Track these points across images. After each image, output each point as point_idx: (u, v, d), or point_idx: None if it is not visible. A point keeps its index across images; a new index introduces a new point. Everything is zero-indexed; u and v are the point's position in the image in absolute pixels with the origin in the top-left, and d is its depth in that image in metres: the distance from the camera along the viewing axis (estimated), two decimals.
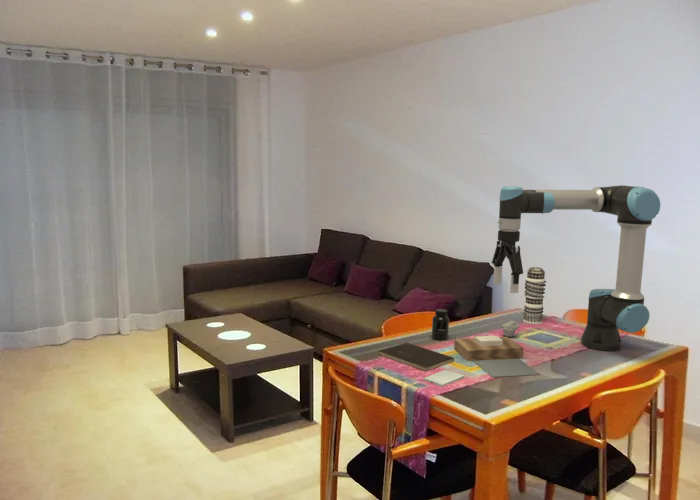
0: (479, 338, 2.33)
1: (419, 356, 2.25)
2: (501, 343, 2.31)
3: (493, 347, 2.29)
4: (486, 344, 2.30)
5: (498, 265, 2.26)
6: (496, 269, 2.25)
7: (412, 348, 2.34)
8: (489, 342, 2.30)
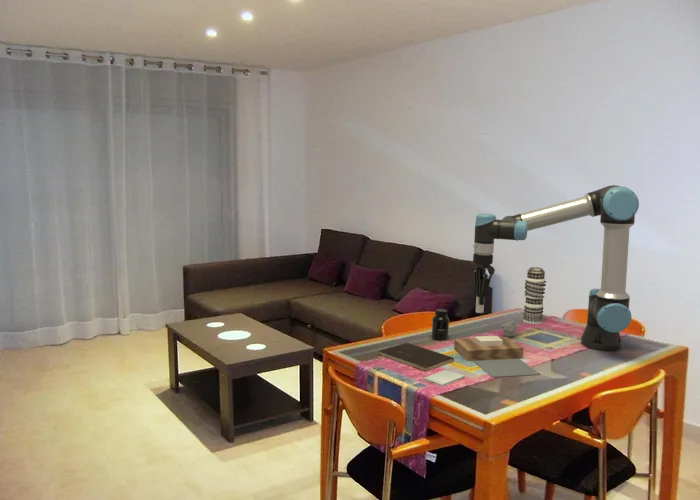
0: (479, 338, 2.33)
1: (419, 356, 2.25)
2: (501, 343, 2.31)
3: (493, 347, 2.29)
4: (486, 344, 2.30)
5: None
6: None
7: (412, 348, 2.34)
8: (489, 342, 2.30)
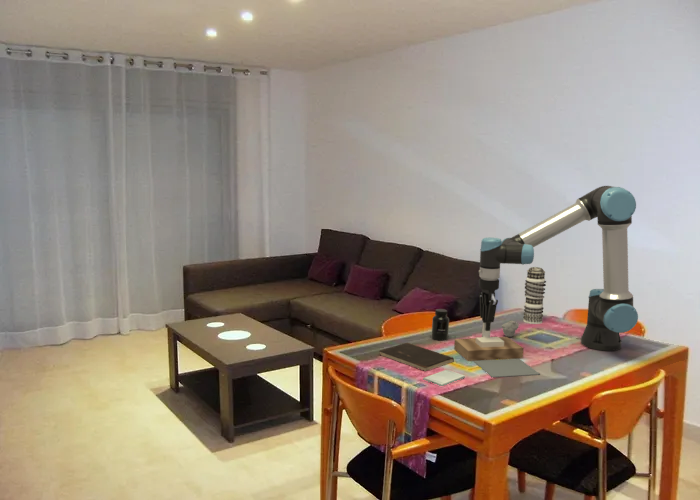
0: (480, 339, 2.32)
1: (419, 356, 2.25)
2: (502, 344, 2.30)
3: (493, 347, 2.29)
4: (487, 345, 2.29)
5: None
6: None
7: (412, 348, 2.34)
8: (490, 343, 2.29)
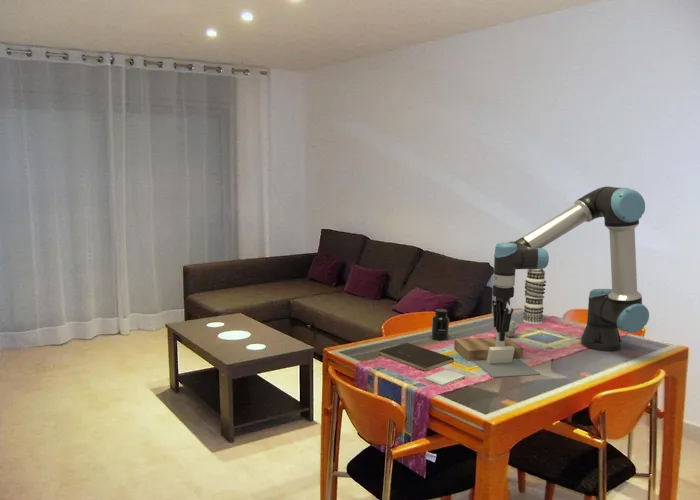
0: (492, 356, 2.21)
1: (419, 356, 2.25)
2: None
3: None
4: None
5: None
6: None
7: (412, 348, 2.34)
8: None
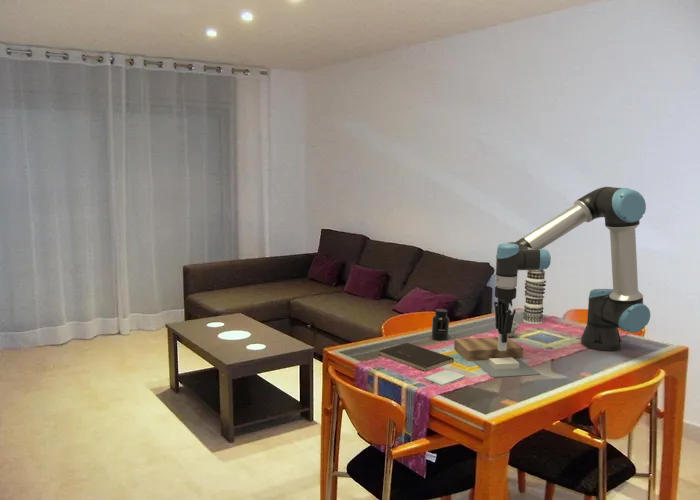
0: None
1: (419, 356, 2.25)
2: None
3: (493, 347, 2.29)
4: None
5: None
6: None
7: (412, 348, 2.34)
8: None
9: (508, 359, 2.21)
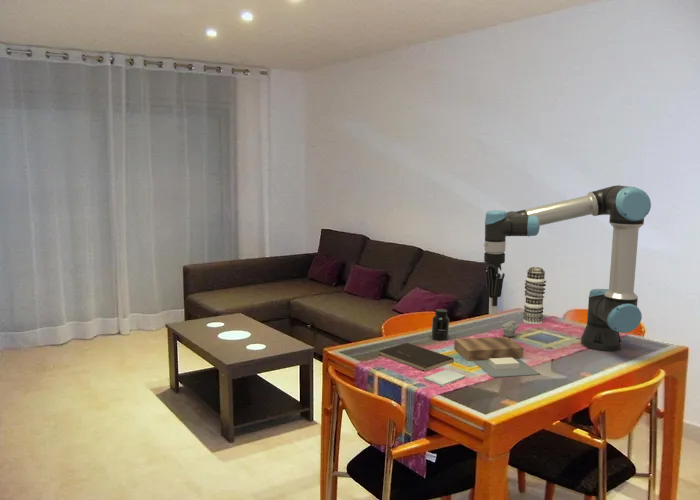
0: None
1: (419, 356, 2.25)
2: None
3: (493, 347, 2.29)
4: None
5: None
6: None
7: (412, 348, 2.34)
8: None
9: (508, 359, 2.21)
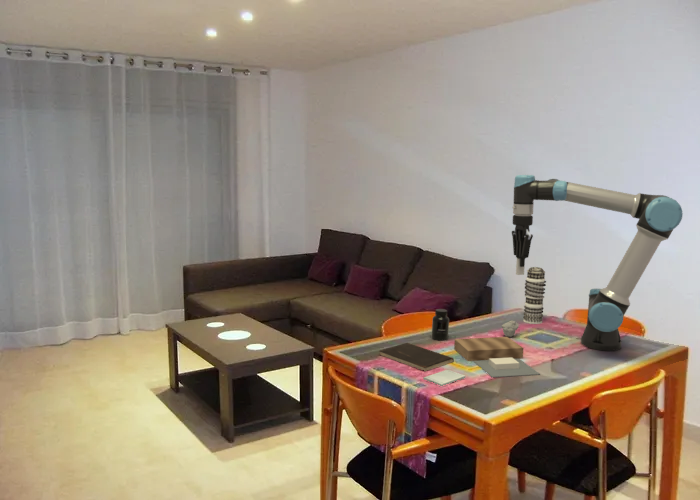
0: None
1: (419, 356, 2.24)
2: None
3: (493, 347, 2.29)
4: None
5: None
6: None
7: (412, 348, 2.34)
8: None
9: (508, 359, 2.21)
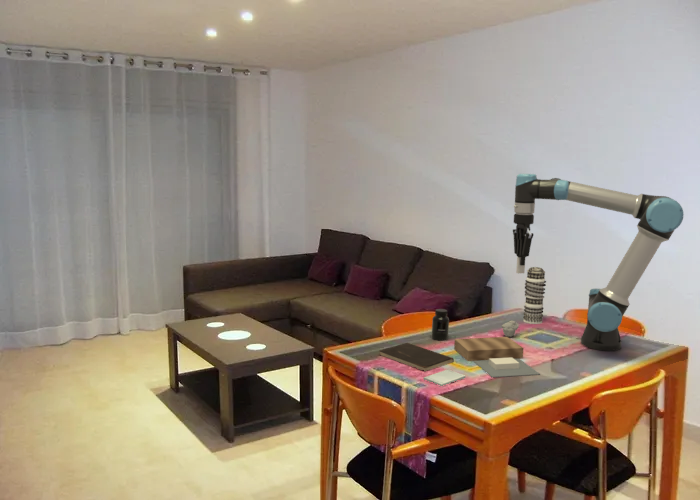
0: None
1: (419, 356, 2.24)
2: None
3: (493, 347, 2.29)
4: None
5: None
6: None
7: (412, 348, 2.34)
8: None
9: (508, 359, 2.21)
